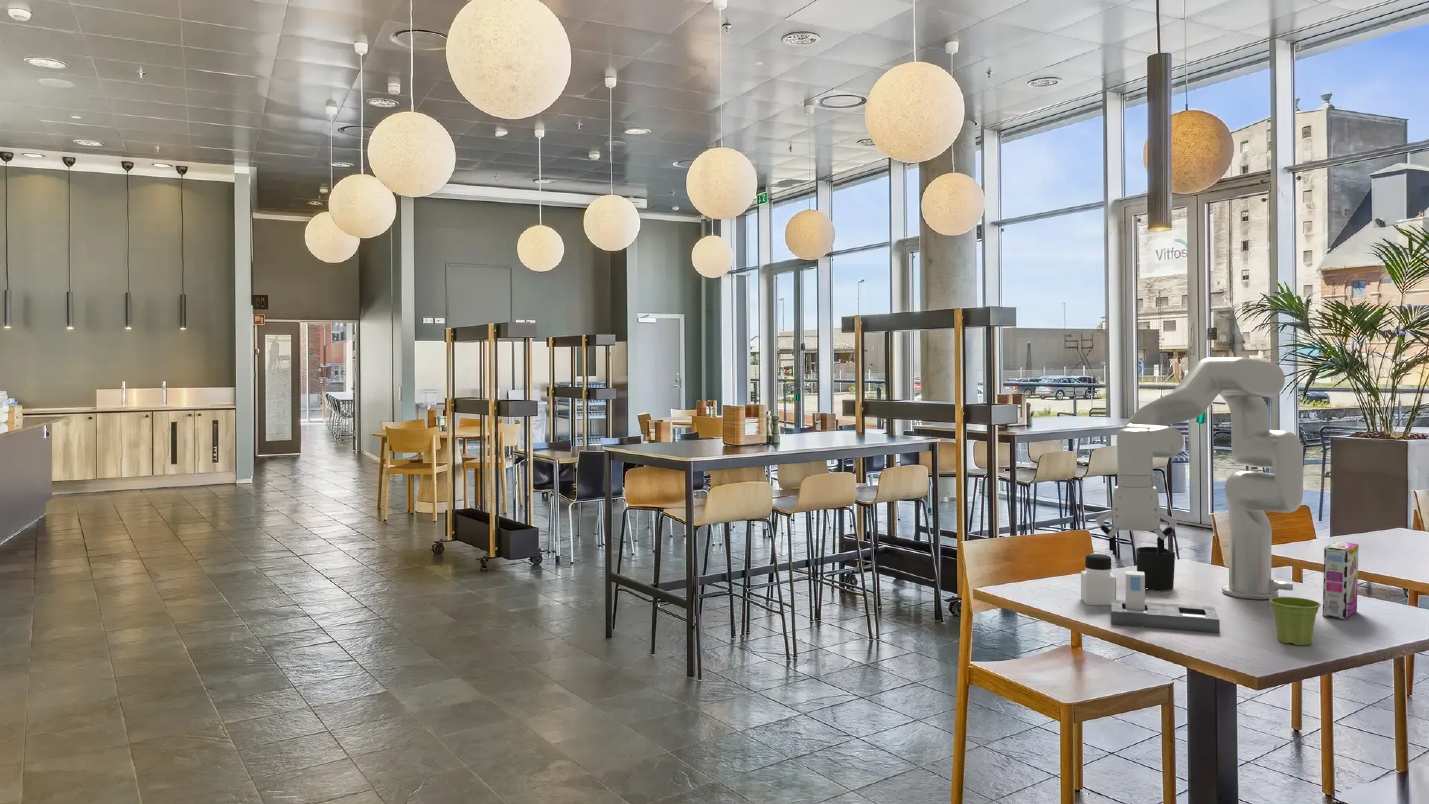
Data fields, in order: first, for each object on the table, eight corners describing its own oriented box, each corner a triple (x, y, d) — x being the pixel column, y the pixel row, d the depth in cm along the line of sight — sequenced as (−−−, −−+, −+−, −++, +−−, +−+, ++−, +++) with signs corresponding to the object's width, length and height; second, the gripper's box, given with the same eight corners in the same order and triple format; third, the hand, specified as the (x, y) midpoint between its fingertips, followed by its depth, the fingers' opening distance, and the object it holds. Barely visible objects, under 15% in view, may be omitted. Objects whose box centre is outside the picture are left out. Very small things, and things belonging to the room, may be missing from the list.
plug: (1144, 618, 224) (1144, 571, 224) (1144, 623, 220) (1144, 575, 220) (1125, 617, 226) (1125, 570, 225) (1125, 621, 222) (1125, 574, 221)
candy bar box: (1347, 620, 220) (1347, 549, 219) (1322, 617, 223) (1322, 547, 223) (1358, 611, 228) (1359, 543, 227) (1334, 608, 231) (1334, 540, 231)
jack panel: (1213, 619, 222) (1213, 606, 222) (1219, 633, 211) (1219, 618, 211) (1111, 611, 231) (1111, 598, 231) (1111, 624, 220) (1111, 610, 219)
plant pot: (1259, 636, 208) (1259, 597, 208) (1300, 635, 209) (1300, 595, 209) (1288, 649, 199) (1288, 607, 199) (1331, 647, 200) (1331, 606, 200)
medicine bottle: (1116, 606, 236) (1116, 557, 236) (1085, 605, 237) (1085, 557, 237) (1110, 599, 243) (1110, 552, 242) (1080, 598, 244) (1080, 551, 244)
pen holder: (1179, 586, 256) (1179, 549, 255) (1168, 593, 249) (1168, 554, 248) (1142, 581, 262) (1142, 545, 261) (1131, 588, 255) (1131, 550, 254)
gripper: (1175, 479, 222) (1176, 552, 223) (1095, 478, 229) (1096, 549, 230) (1177, 484, 215) (1178, 559, 216) (1095, 483, 222) (1096, 556, 223)
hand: (1136, 554), depth 223 cm, fingers open, 9 cm apart
